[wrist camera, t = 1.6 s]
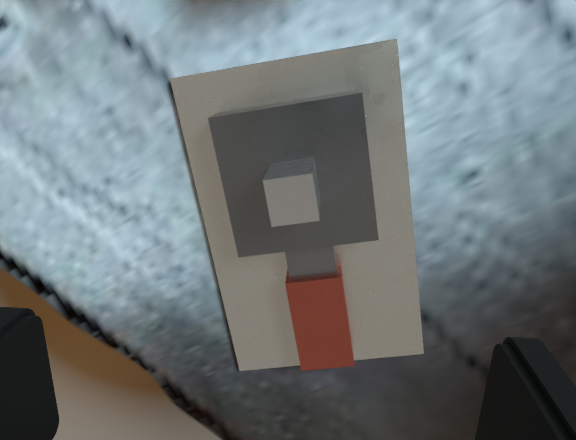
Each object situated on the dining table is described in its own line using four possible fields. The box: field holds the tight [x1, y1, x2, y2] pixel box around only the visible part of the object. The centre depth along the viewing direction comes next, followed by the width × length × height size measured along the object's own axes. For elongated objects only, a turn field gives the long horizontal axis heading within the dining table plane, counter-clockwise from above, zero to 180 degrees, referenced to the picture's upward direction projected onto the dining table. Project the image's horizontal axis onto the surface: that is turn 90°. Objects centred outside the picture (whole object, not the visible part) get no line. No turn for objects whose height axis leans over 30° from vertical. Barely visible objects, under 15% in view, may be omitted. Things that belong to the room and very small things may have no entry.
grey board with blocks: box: [170, 39, 424, 371], centre depth 29 cm, size 14×22×7 cm, turn 10°
